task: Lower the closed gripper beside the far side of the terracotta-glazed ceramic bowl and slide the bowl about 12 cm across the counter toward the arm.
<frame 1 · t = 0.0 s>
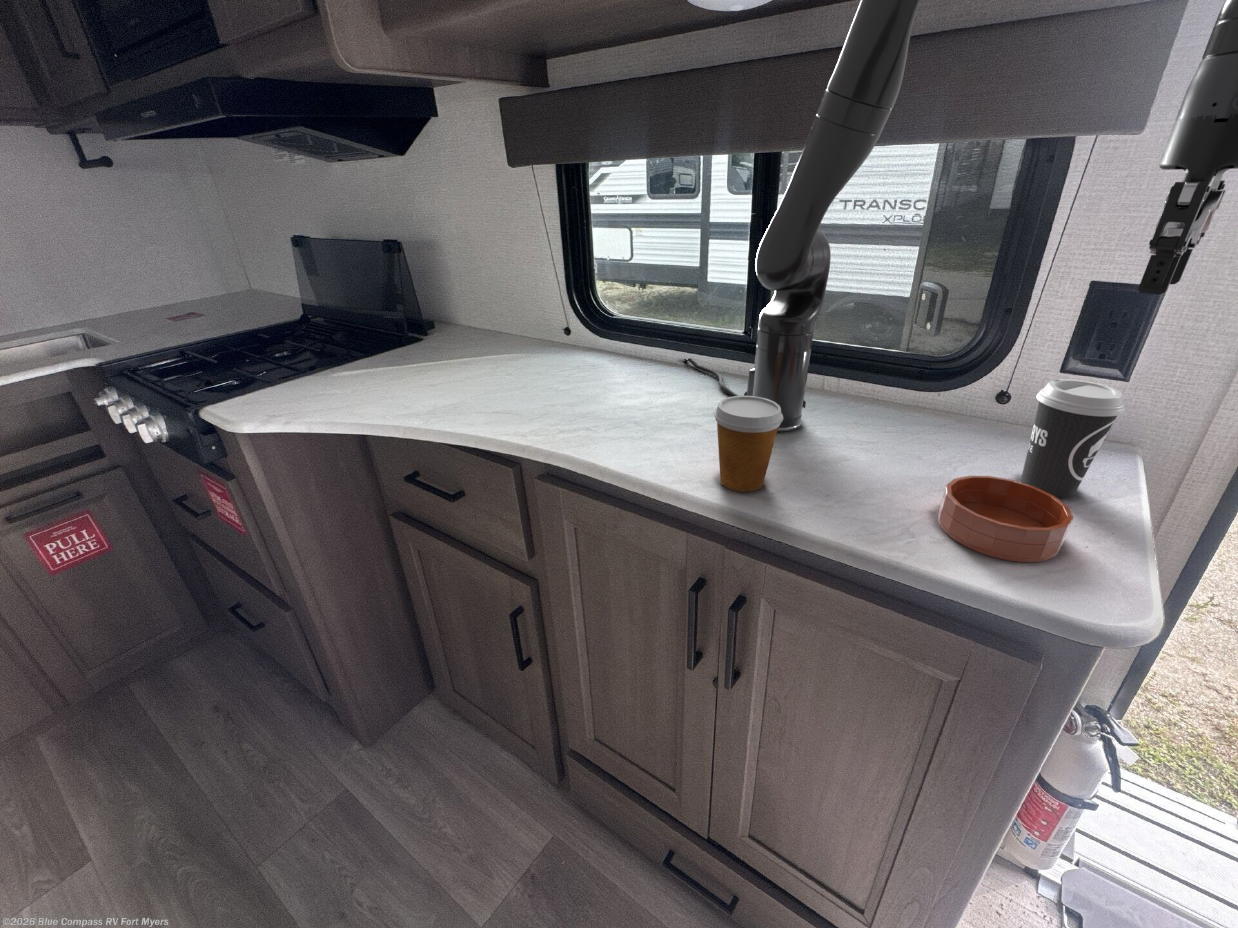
hand: (1158, 288, 61), 29 cm above the worktop, tool pointing down, fingers open, 8 cm apart
disposable coffee cup: (741, 482, 84), on the worktop
bowl: (995, 531, 72), on the worktop
coffee cup: (1046, 488, 82), on the worktop
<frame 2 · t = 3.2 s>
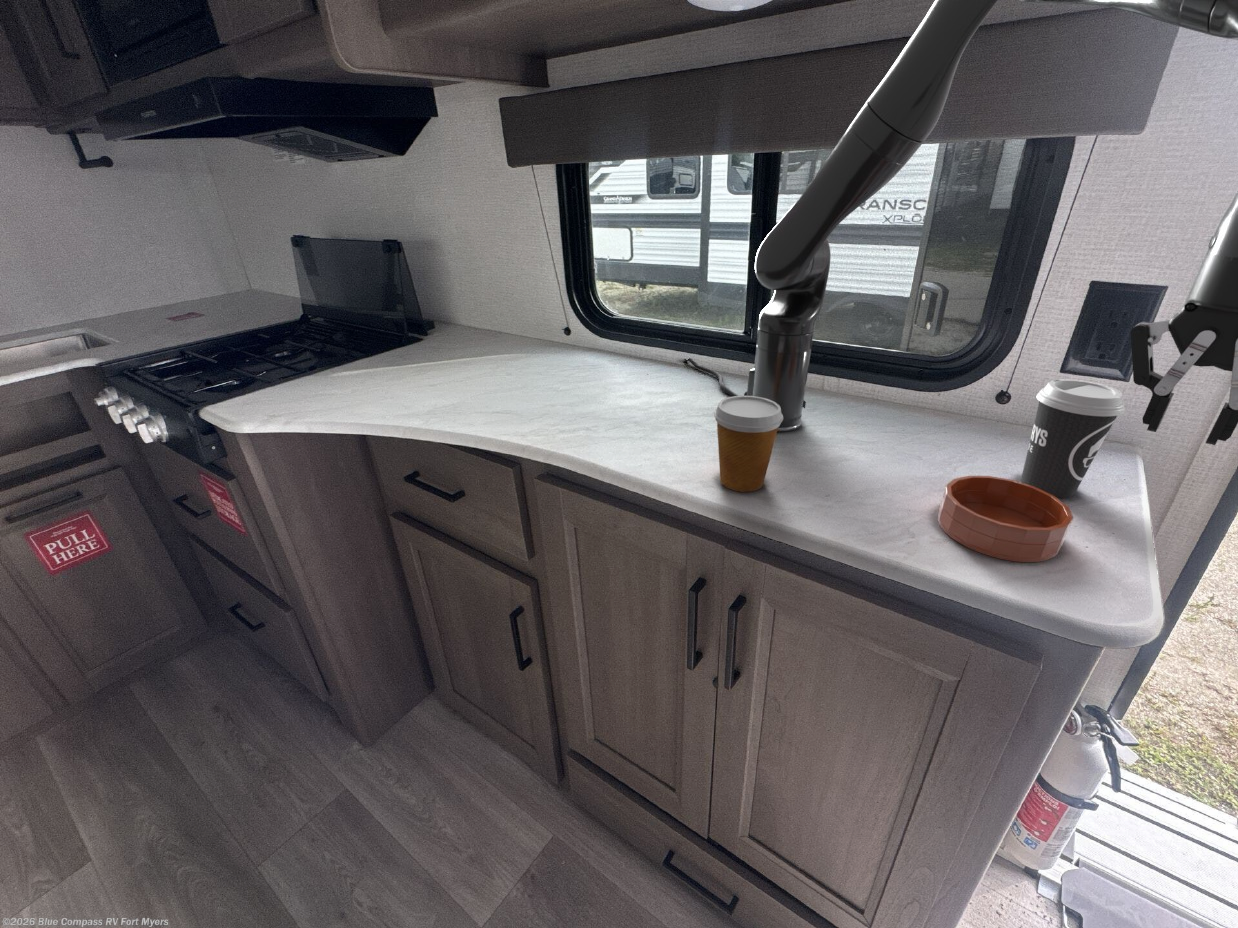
hand: (1181, 434, 56), 17 cm above the worktop, tool pointing down, fingers open, 3 cm apart
nothing on the worktop moved.
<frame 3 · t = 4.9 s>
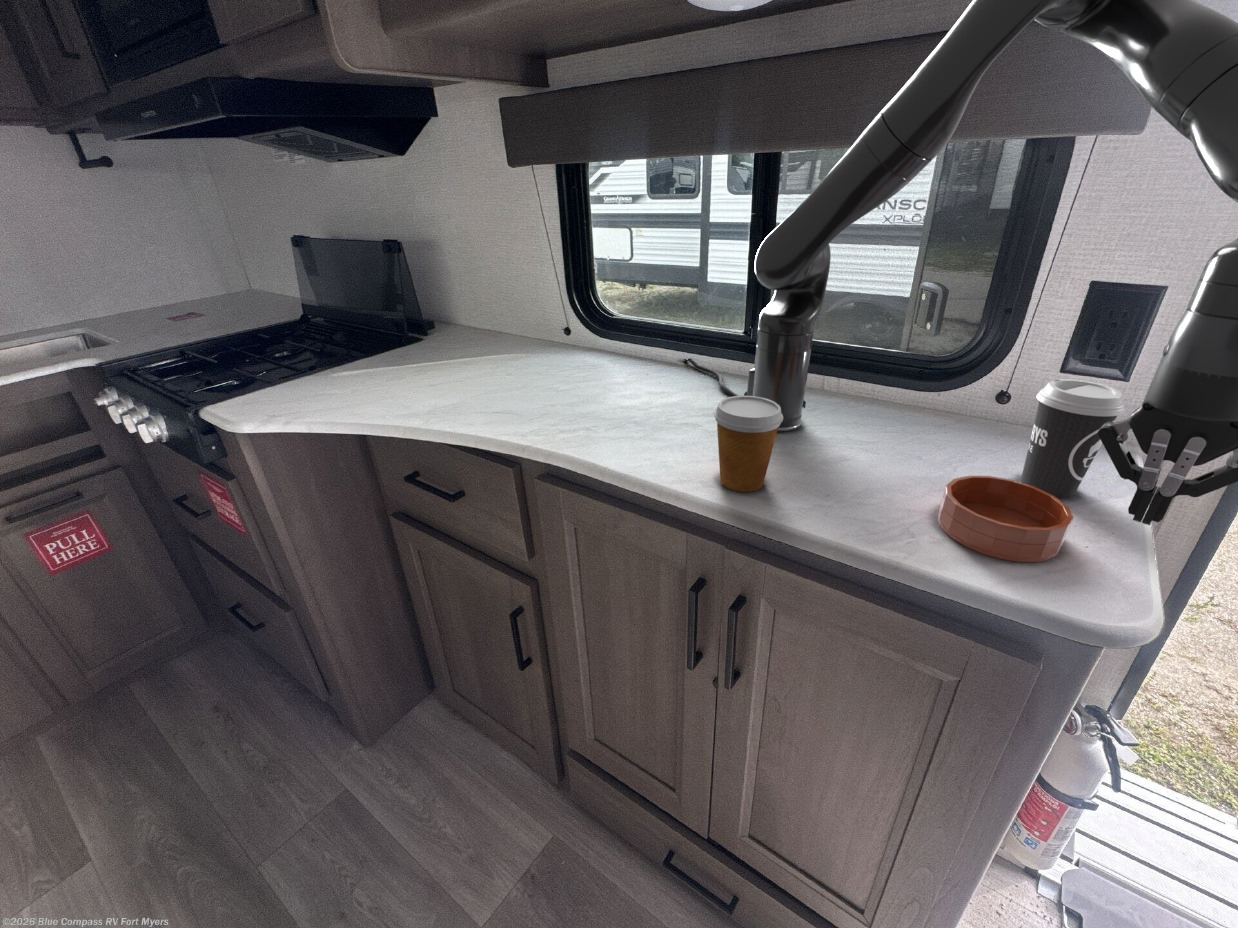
hand: (1141, 519, 60), 7 cm above the worktop, tool pointing down, fingers closed
nothing on the worktop moved.
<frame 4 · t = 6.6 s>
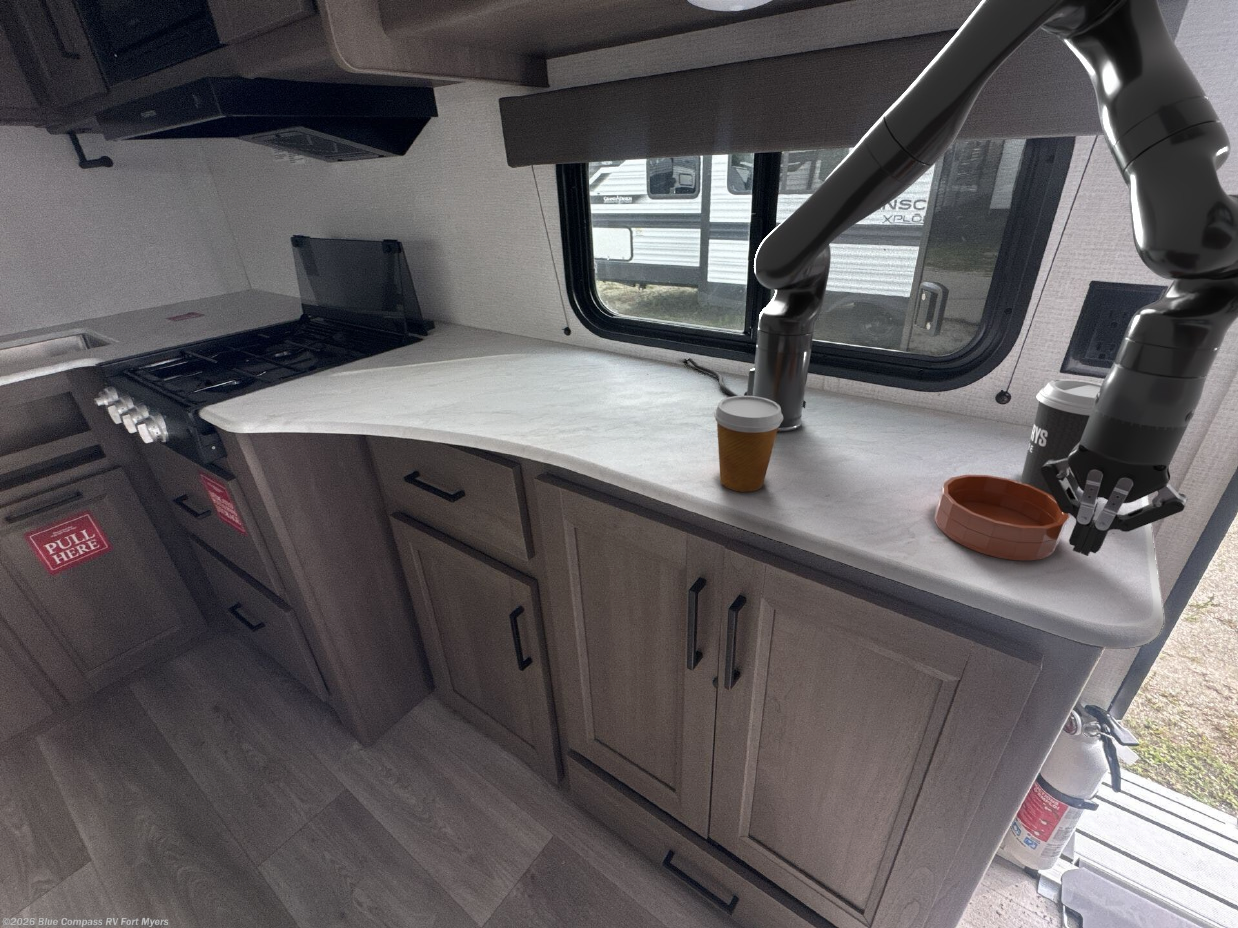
hand: (1081, 550, 65), 1 cm above the worktop, tool pointing down, fingers closed
bowl: (992, 529, 72), on the worktop, touching gripper
everything else where it was.
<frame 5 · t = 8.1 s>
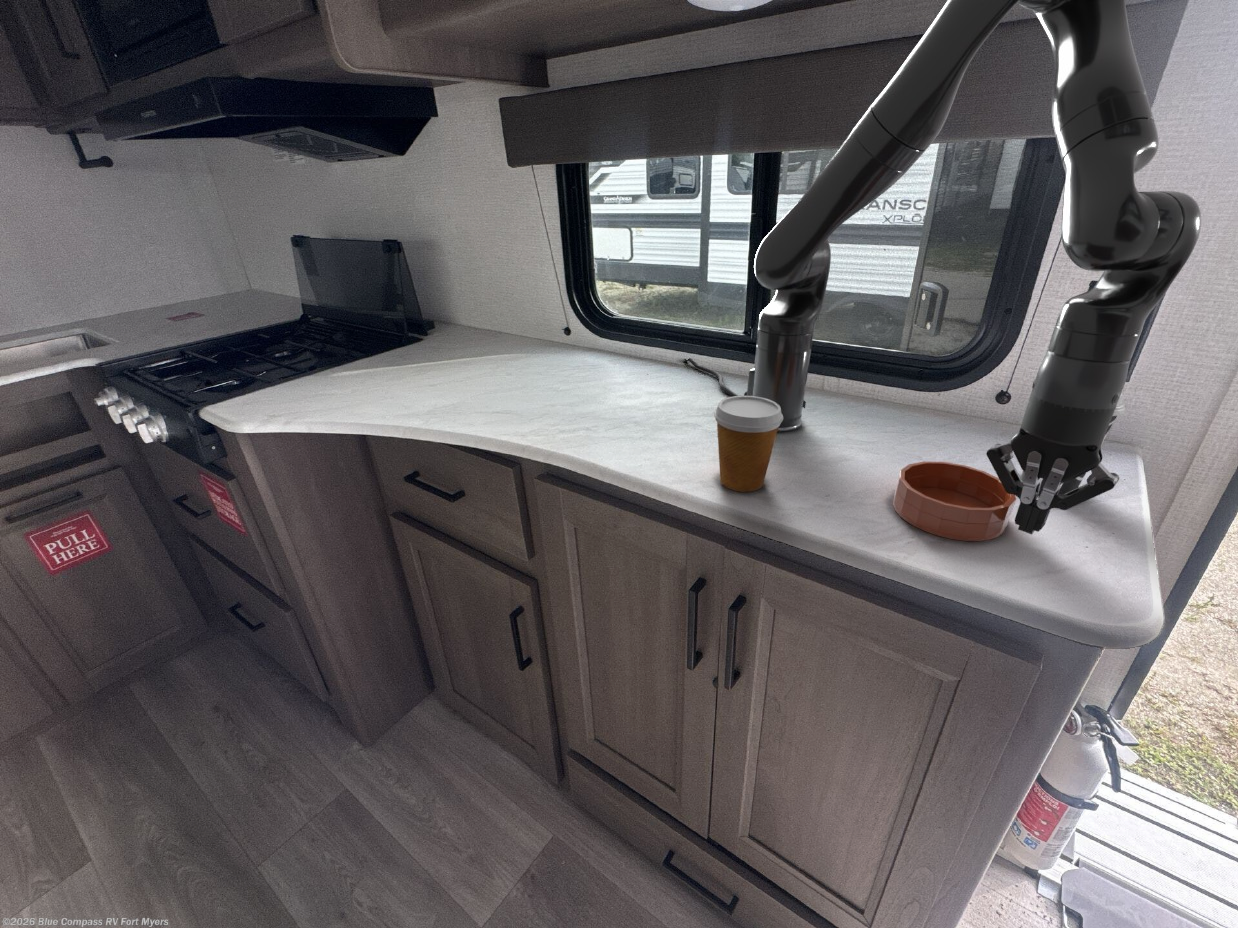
hand: (1026, 529, 69), 2 cm above the worktop, tool pointing down, fingers closed
bowl: (946, 513, 76), on the worktop, touching gripper
everything else where it was.
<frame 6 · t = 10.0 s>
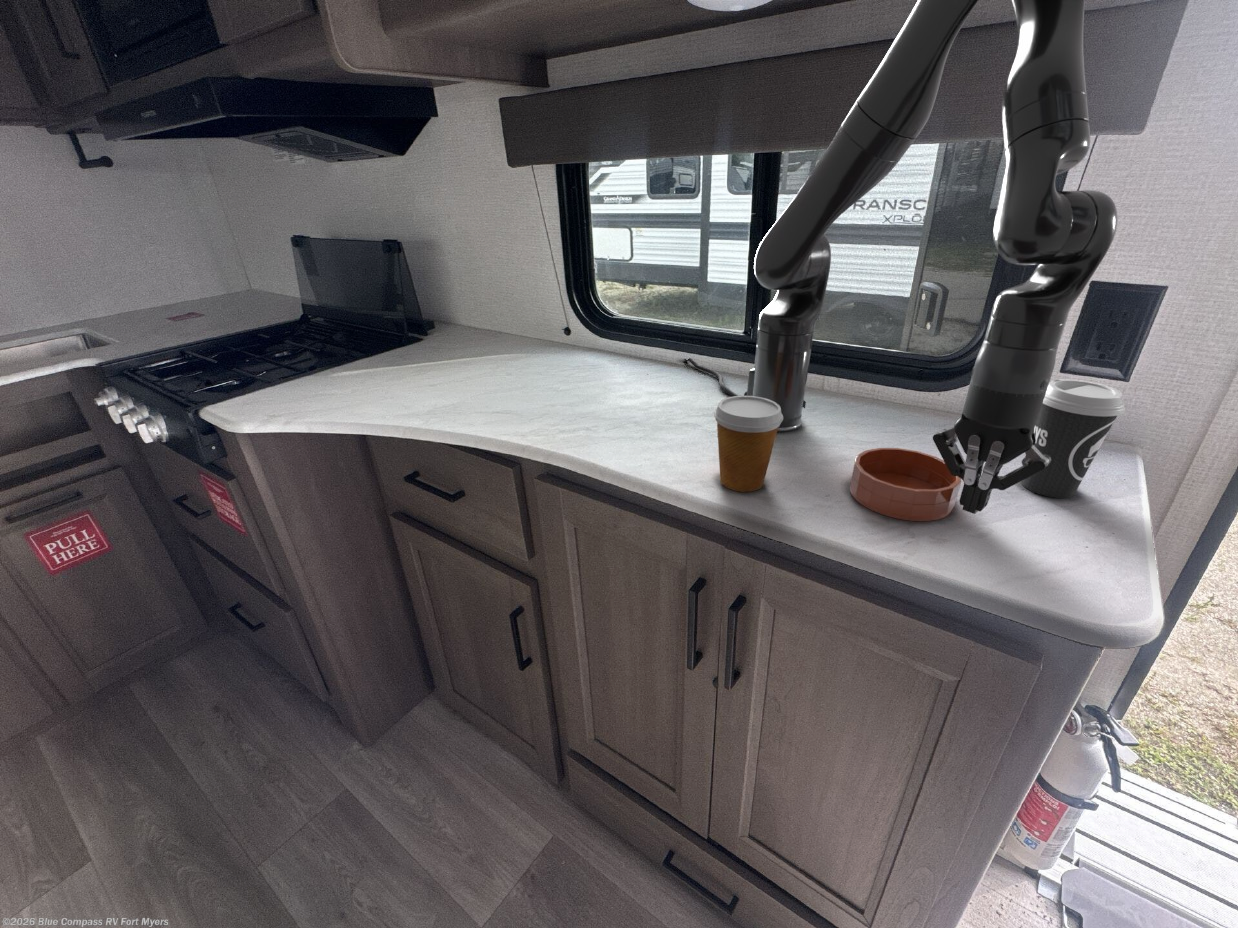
hand: (970, 509, 73), 2 cm above the worktop, tool pointing down, fingers closed
bowl: (899, 496, 80), on the worktop, touching gripper
everything else where it was.
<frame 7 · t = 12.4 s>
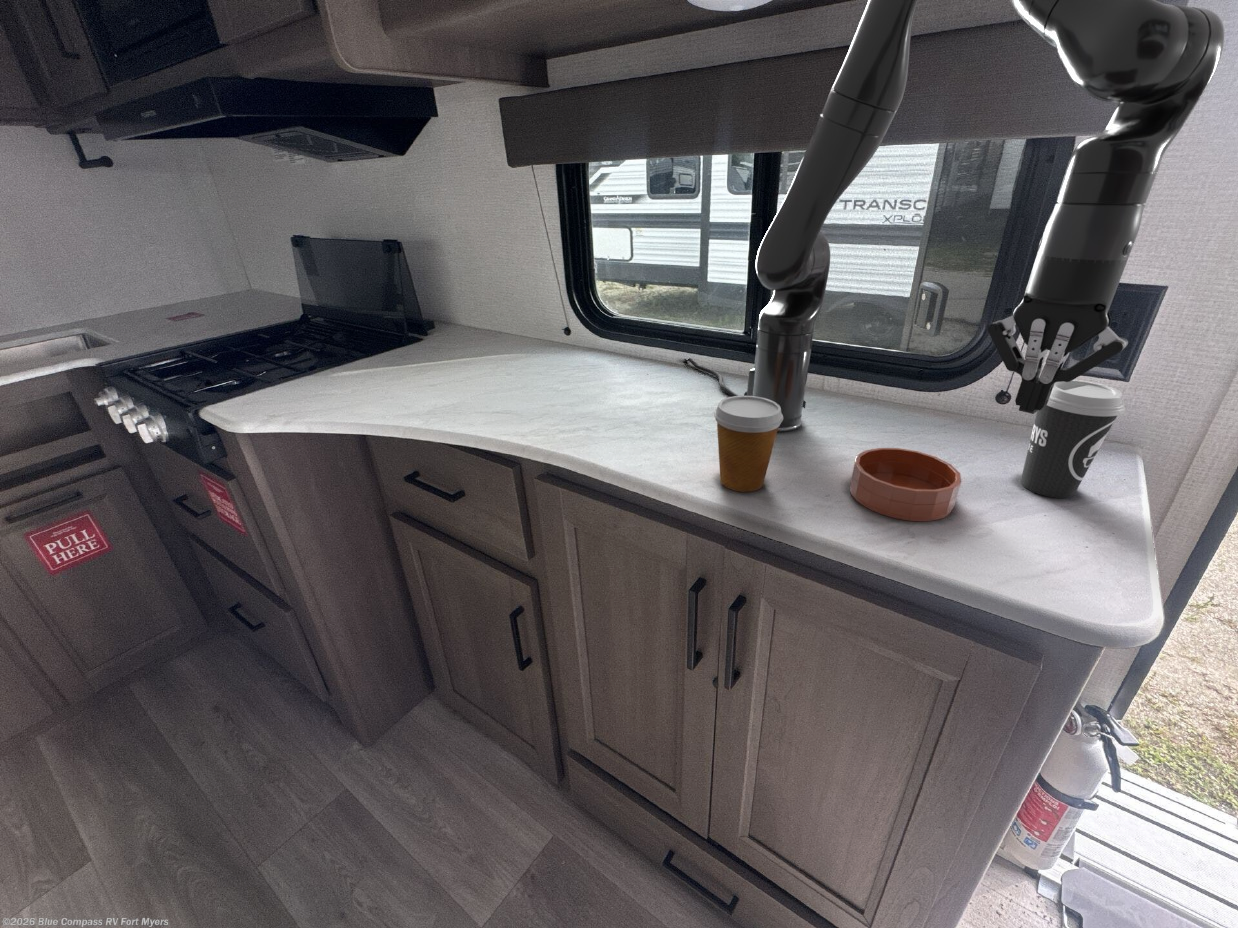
hand: (1027, 410, 65), 16 cm above the worktop, tool pointing down, fingers closed
bowl: (899, 496, 80), on the worktop
everything else where it was.
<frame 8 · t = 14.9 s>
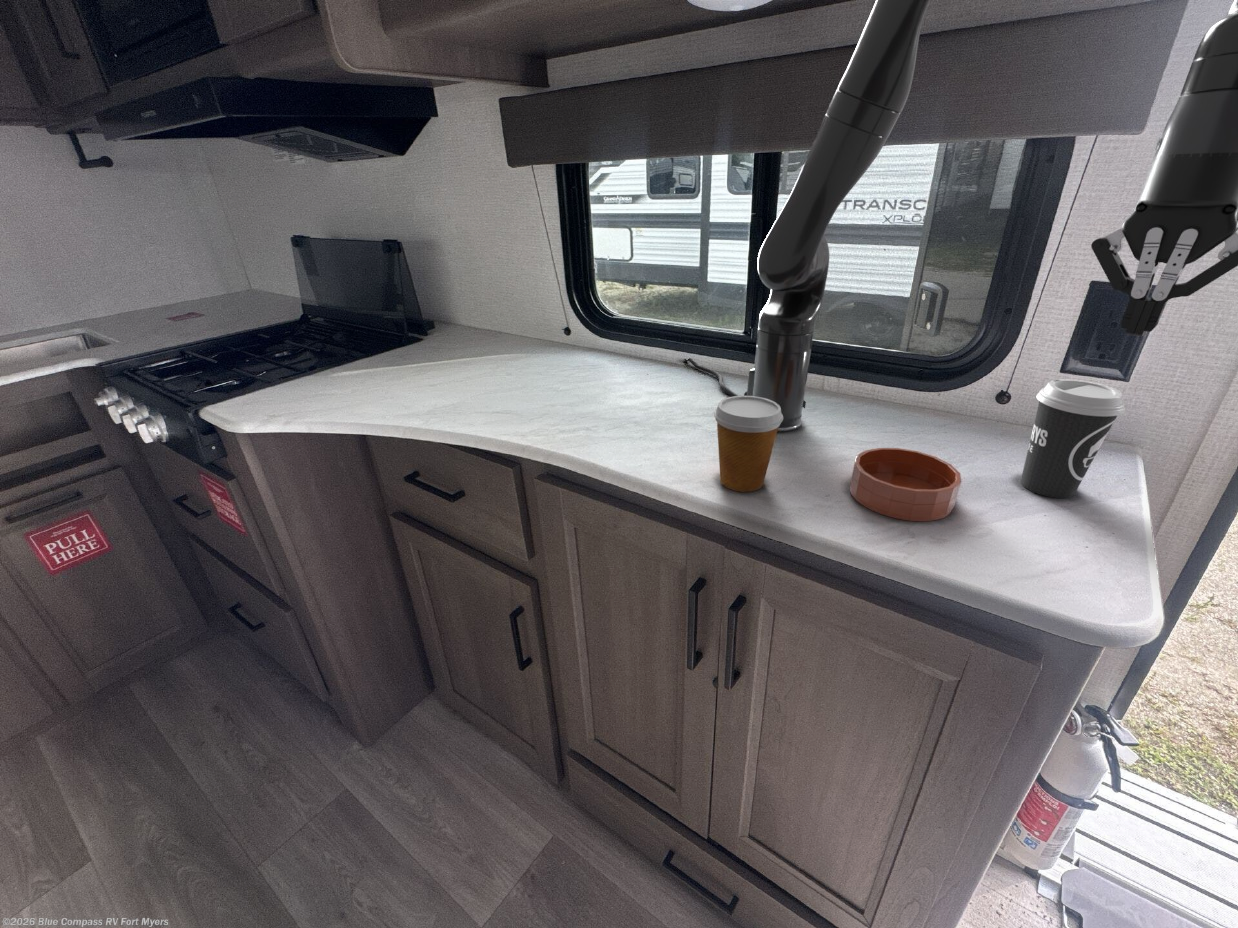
hand: (1134, 334, 61), 25 cm above the worktop, tool pointing down, fingers closed
nothing on the worktop moved.
at the end: bowl inside the target area (0.2 cm from its centre), on the worktop; bowl moved 12.2 cm from its start; bowl tilted 0° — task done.
